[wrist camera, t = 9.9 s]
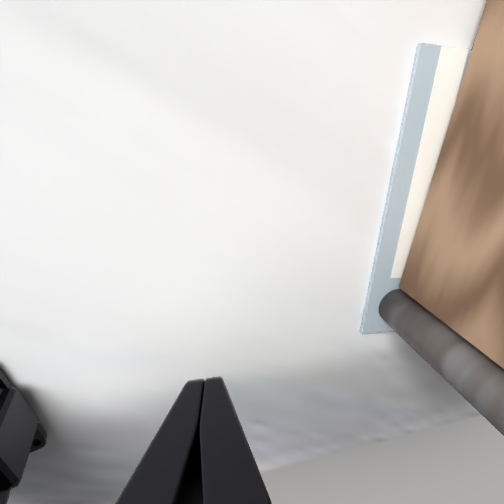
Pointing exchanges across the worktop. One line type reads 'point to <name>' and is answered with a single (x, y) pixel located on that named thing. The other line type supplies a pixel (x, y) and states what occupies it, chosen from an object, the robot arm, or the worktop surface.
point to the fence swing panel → (468, 205)
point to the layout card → (413, 167)
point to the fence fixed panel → (448, 354)
